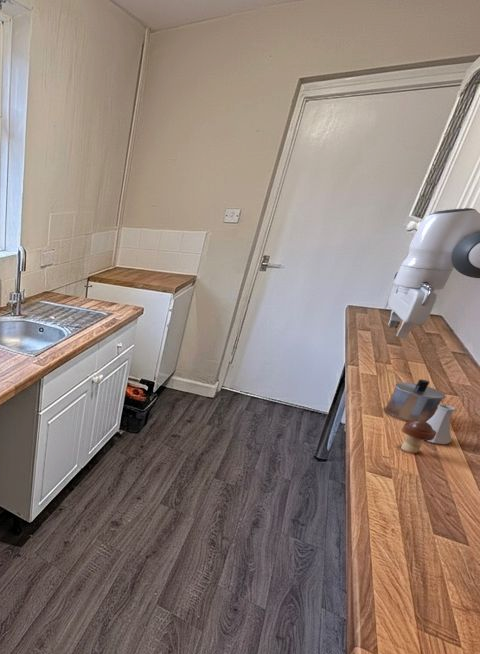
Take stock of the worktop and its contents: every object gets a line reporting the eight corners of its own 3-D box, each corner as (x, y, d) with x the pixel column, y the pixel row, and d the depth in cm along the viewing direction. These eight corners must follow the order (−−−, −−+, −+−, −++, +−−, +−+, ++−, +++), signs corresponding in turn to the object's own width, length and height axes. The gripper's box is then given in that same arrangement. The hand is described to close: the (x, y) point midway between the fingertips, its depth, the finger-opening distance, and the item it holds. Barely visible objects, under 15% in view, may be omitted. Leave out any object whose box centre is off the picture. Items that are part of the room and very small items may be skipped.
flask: (405, 431, 120) (420, 401, 116) (427, 430, 120) (443, 400, 116) (434, 445, 113) (451, 414, 109) (456, 444, 114) (474, 412, 110)
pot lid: (438, 391, 127) (444, 379, 125) (449, 404, 119) (455, 391, 117) (390, 382, 132) (396, 371, 131) (397, 394, 124) (403, 382, 123)
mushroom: (421, 448, 112) (436, 420, 108) (427, 459, 107) (443, 430, 104) (391, 441, 115) (405, 414, 112) (396, 451, 111) (410, 423, 107)
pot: (425, 413, 130) (437, 389, 126) (434, 427, 122) (447, 401, 119) (382, 405, 135) (393, 381, 132) (388, 417, 128) (400, 393, 124)
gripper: (453, 288, 92) (424, 346, 98) (426, 273, 107) (403, 324, 113) (414, 285, 95) (388, 341, 101) (394, 270, 110) (373, 320, 116)
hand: (396, 332), depth 107 cm, fingers open, 8 cm apart
